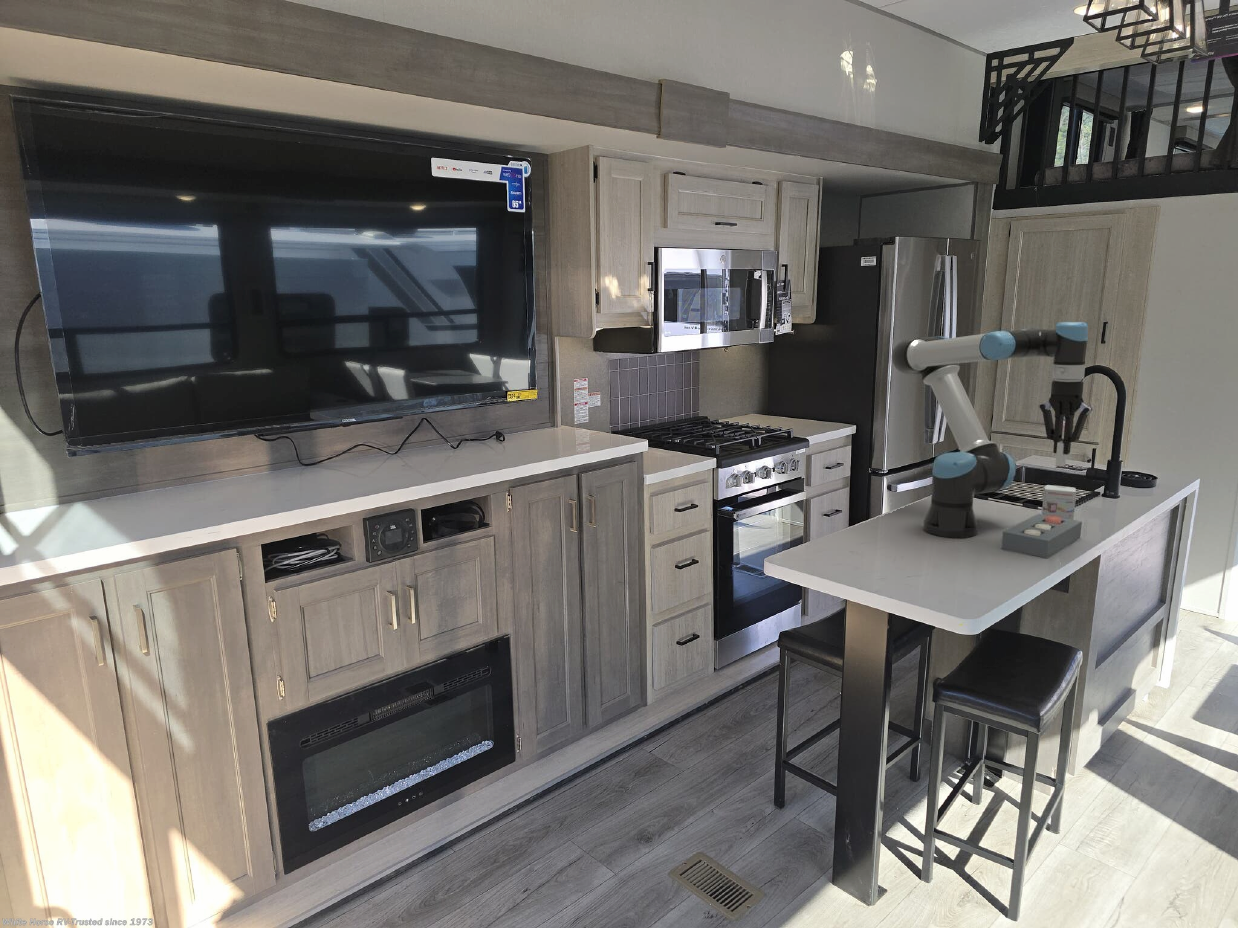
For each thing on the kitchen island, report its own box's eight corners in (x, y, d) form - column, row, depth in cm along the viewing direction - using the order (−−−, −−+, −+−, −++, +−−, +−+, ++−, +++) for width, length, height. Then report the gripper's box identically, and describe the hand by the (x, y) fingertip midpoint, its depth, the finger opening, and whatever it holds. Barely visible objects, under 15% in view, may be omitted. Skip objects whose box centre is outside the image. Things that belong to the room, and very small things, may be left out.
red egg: (1056, 536, 226) (1058, 520, 225) (1041, 533, 229) (1043, 517, 228) (1061, 533, 229) (1063, 517, 228) (1047, 530, 232) (1048, 514, 231)
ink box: (1040, 525, 241) (1044, 488, 239) (1040, 521, 246) (1044, 484, 243) (1072, 528, 237) (1076, 490, 235) (1072, 524, 242) (1076, 487, 239)
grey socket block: (1046, 558, 212) (1048, 540, 211) (1001, 548, 221) (1002, 531, 220) (1080, 537, 228) (1081, 521, 227) (1036, 529, 237) (1038, 513, 236)
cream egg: (1046, 544, 222) (1047, 528, 221) (1031, 541, 225) (1032, 525, 224) (1051, 541, 224) (1053, 525, 223) (1037, 538, 227) (1038, 522, 226)
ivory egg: (1035, 551, 217) (1037, 534, 216) (1020, 547, 220) (1022, 531, 219) (1041, 547, 219) (1043, 531, 218) (1026, 544, 222) (1027, 528, 221)
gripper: (1036, 379, 215) (1029, 464, 219) (1087, 382, 205) (1079, 470, 209) (1048, 377, 219) (1042, 460, 224) (1099, 380, 209) (1091, 466, 214)
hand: (1060, 465), depth 217 cm, fingers closed
